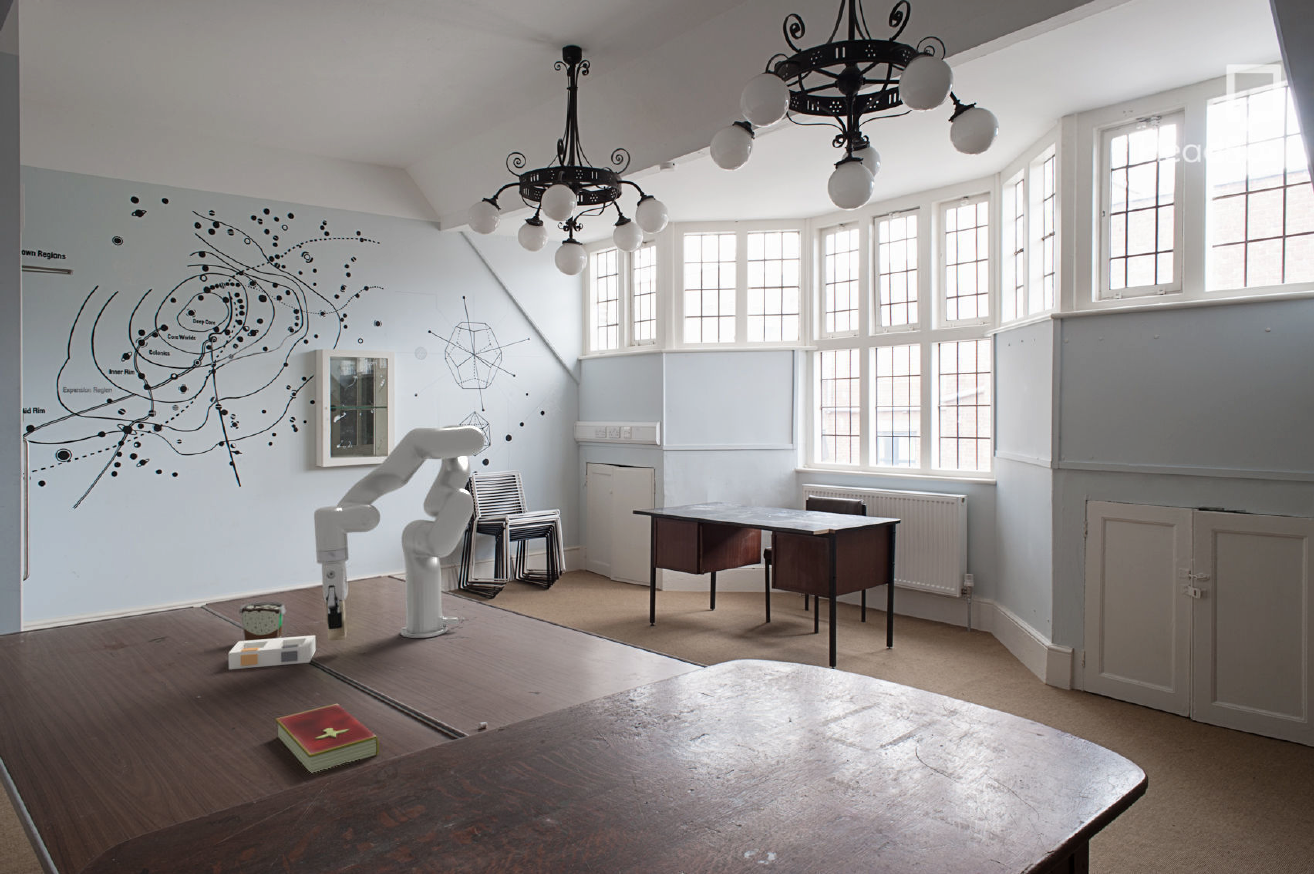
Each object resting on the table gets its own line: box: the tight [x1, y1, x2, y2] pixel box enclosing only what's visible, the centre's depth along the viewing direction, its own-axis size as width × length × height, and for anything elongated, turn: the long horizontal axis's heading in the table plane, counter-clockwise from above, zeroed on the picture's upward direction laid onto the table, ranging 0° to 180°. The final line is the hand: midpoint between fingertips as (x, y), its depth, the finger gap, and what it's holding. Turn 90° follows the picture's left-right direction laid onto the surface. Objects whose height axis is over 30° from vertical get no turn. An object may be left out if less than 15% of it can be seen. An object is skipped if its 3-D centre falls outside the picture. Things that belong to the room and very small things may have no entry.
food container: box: [238, 601, 287, 641], centre depth 212 cm, size 12×6×10 cm, turn 84°
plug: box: [325, 598, 348, 642], centre depth 200 cm, size 4×4×10 cm
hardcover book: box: [274, 703, 380, 774], centre depth 145 cm, size 12×21×4 cm, turn 41°
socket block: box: [227, 635, 316, 670], centre depth 195 cm, size 18×10×4 cm, turn 106°
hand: (336, 624), depth 200 cm, fingers closed on plug, 4 cm apart
